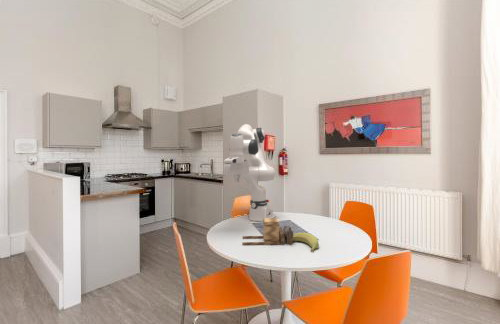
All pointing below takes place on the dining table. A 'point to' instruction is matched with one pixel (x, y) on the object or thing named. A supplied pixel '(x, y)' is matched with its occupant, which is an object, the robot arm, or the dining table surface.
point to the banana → (307, 239)
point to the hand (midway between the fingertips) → (237, 182)
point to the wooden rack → (282, 235)
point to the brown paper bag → (271, 229)
